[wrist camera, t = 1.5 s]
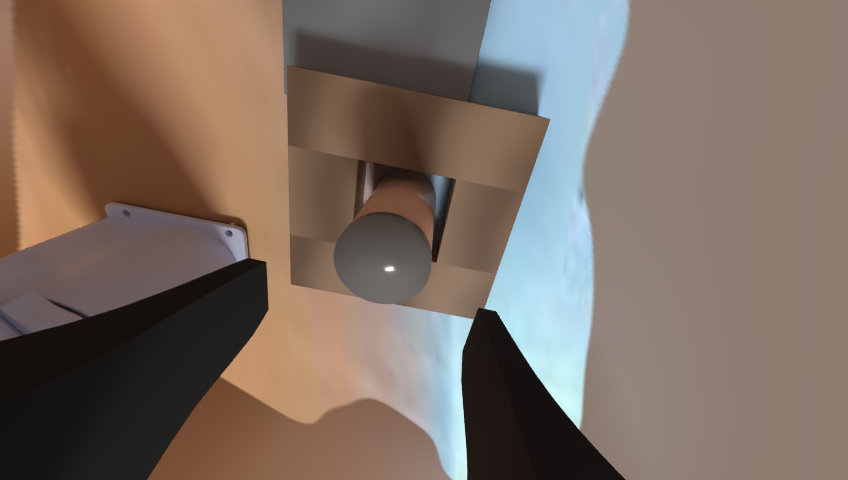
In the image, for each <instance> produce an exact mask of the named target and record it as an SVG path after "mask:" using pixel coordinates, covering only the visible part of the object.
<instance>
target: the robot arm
mask: <svg viewBox="0 0 848 480" xmlns="http://www.w3.org/2000/svg"><path fill="white" fill-rule="evenodd" d="M105 211H106V214H107V218H104V219H102V220H99V221H96V222H94V223H91V224H89V225H86V226H83V227H81V228H78V229H76V230H73V231H70V232H68V233H65V234H62V235H60V236H57V237H55V238H52V239H49V240H47V241H44V242H42V243H39V244H36V245H34V246H31V247H28V248H26V249H23V250H21V251H18V252H15V253H13V254H10V255H8V256H6V257H4V258H1V259H0V480H147V479H148V477H149V475H150V474H151V473H152V471H153V469H154V468H155V466H156V465H157V463H158V462H159V460H160V459H161V457H162V455H163V454H164V452H165V451H166V449H167V448H168V446H169V445H170V443H171V442H172V440H173V439H174V437H175V436H176V434H177V433H178V431H179V430H180V428H181V427H182V425H183V424H184V422H185V421H186V420H187V418H188V417H189V415H190V413H191V412H192V411H193V409H194V408H195V407H196V405H197V404H198V403H199V402H200V400H201V399H202V397H203V396H204V395H205V394H206V393H207V391H208V390H209V389H210V387H211V386H212V385H213V384H214V383H215V382H216V380H217V379H218V378H219V377H220V375H221V374H222V373H223V372H224V370H225V369H226V368H227V367H228V366H229V364H230V363H231V362H232V361H233V359H234V358H235V357H236V356H237V354H238V353H239V352H240V351H241V349H242V348H243V347H244V346H245V344H246V343H247V342H248V341H249V339H250V338H251V337H252V335H253V334H254V332H255V331H256V329H257V328H258V326H259V325H260V323H261V321H262V320H263V318H264V316H265V314H266V313H267V311H268V309H269V308H268V288H267V268H266V262H264V261H260V260H255V259H250V258H249V257H248V246H247V235H246V231H245V230H244V229H243V228H242V227H239V226H235V225H229V224H224V223H219V222H214V221H209V220H204V219H199V218H193V217H188V216H183V215H178V214H173V213H168V212H162V211H157V210H152V209H147V208H142V207H137V206H132V205H126V204H121V203H116V202H111V203H108V204H106V205H105ZM229 230H230V231H231V232H232V234H231V233H230V232H229ZM461 381H462V396H463V410H464V423H465V436H466V449H467V480H625V479H624V478H623V477H622V476H621V475H620V474H619V473H618V472H617V471H616V470H615V469H614V467H613V466H612V465H611V464H610V463H609V462H608V461H607V460H606V459H605V458H604V457H603V456H602V455H601V454H600V453H599V452H598V450H597V449H596V448H595V447H594V446H593V445H592V444H591V443H590V442H589V441H588V440H587V438H586V437H585V436H584V435H583V434H582V433H581V432H580V430H579V429H578V428H577V427H576V426H575V424H574V423H573V422H572V421H571V420H570V418H569V417H568V416H567V415H566V414H565V412H564V411H563V410H562V409H561V408H560V406H559V405H558V404H557V402H556V401H555V400H554V399H553V397H552V396H551V395H550V393H549V392H548V391H547V389H546V388H545V386H544V385H543V384H542V382H541V381H540V380H539V378H538V377H537V375H536V374H535V373H534V371H533V370H532V368H531V367H530V365H529V364H528V362H527V361H526V359H525V358H524V356H523V354H522V353H521V351H520V350H519V348H518V347H517V345H516V343H515V342H514V340H513V338H512V337H511V335H510V334H509V332H508V330H507V329H506V327H505V325H504V324H503V322H502V320H501V319H500V317H499V315H498V314H497V312H496V311H492V310H487V309H482V308H478V310H477V313H476V315H475V318H474V321H473V324H472V326H471V329H470V332H469V335H468V337H467V340H466V343H465V346H464V348H463V354H462V378H461Z"/></svg>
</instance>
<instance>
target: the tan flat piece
mask: <svg viewBox="0 0 848 480" xmlns="http://www.w3.org/2000/svg"><path fill="white" fill-rule="evenodd" d="M287 108H288V159H289V210H290V261H291V284H292V285H297V286H303V287H308V288H313V289H318V290H324V291H329V292H334V293H339V294H345V295H350V296H355V297H359V296H357V295H355V294H354V293H353V292H351V291H350V290H349V289H348V288H347V287H346V286H345V285H344V284H343V283H342V281H341V280H340V278H339V277H338V275H337V272H336V270H335V267H334V261H333V254H334V248H335V245H336V243H337V241H338V239H339V237H340V236H341V235H342V233H343V232H344V230H345V229H346V228H347V226H348V225H349V224H350V223H351V222H352V221H353V220H354V218H355V217H356V216H357V214H358V213H359V211H360V210H361V208H362V205H363V195H364V185H365V174H366V164H367V161H369V162H374V163H379V164H383V165H388V166H393V167H398V168H403V169H408V170H413V171H418V172H423V173H428V174H433V175H438V176H443V177H448V178H453V182H452V186H451V191H450V195H449V199H448V203H447V208H446V212H445V216H444V221H443V225H442V229H441V234H440V238H439V242H438V246H433V245H432V250H431V251H432V263H431V272H430V276H429V279H428V281H427V283H426V285H425V286H424V288H423V289H422V290H421V291H420V292H419V293H418V294H417V295H415V296H414V297H412V298H411V299H408V300H406V301H403V302H400V303H395V304H397V305H402V306H408V307H413V308H418V309H423V310H429V311H434V312H439V313H444V314H450V315H455V316H460V317H465V318H471V319H474V318H475V315H476V313H477V310H478V308H482V309H484V308H485V305H486V302H487V299H488V296H489V293H490V291H491V288H492V285H493V282H494V279H495V276H496V273H497V271H498V268H499V265H500V262H501V259H502V256H503V253H504V251H505V248H506V245H507V242H508V239H509V236H510V233H511V231H512V228H513V225H514V222H515V219H516V216H517V213H518V211H519V208H520V205H521V202H522V199H523V196H524V193H525V191H526V188H527V185H528V182H529V179H530V176H531V173H532V171H533V168H534V165H535V162H536V159H537V156H538V153H539V151H540V148H541V145H542V142H543V139H544V136H545V133H546V131H547V128H548V125H549V122H550V119H547V118H544V117H541V116H537V115H533V114H528V113H523V112H518V111H513V110H508V109H503V108H499V107H494V106H489V105H484V104H479V103H474V102H470V101H464V100H459V99H454V98H449V97H444V96H440V95H435V94H430V93H425V92H420V91H415V90H411V89H406V88H401V87H396V86H391V85H386V84H382V83H377V82H372V81H367V80H362V79H357V78H352V77H348V76H343V75H338V74H333V73H328V72H323V71H319V70H314V69H309V68H304V67H298V66H291V65H287Z"/></svg>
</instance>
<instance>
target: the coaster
mask: <svg viewBox="0 0 848 480" xmlns="http://www.w3.org/2000/svg"><path fill="white" fill-rule="evenodd" d="M282 3H283V46H284V89H285V94H287V65H291V66H298V67H304V68H309V69H314V70H319V71H323V72H328V73H333V74H338V75H343V76H348V77H352V78H357V79H362V80H367V81H372V82H377V83H382V84H386V85H391V86H396V87H401V88H406V89H411V90H415V91H420V92H425V93H430V94H435V95H440V96H444V97H449V98H454V99H459V100H464V101H468V99H469V95H470V91H471V86H472V82H473V78H474V73H475V69H476V64H477V60H478V56H479V51H480V47H481V43H482V38H483V34H484V29H485V25H486V21H487V16H488V12H489V8H490V3H491V0H282Z"/></svg>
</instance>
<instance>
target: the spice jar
mask: <svg viewBox="0 0 848 480" xmlns="http://www.w3.org/2000/svg"><path fill="white" fill-rule="evenodd" d="M435 208H436V198H435V193H434V191H433V189H432V187H431V185H430V184H429V183H428V182H427V181H426V180H425V179H424V178H423V177H421V176H420V175H418V174H416V173H413V172H408V171H399V172H394V173H392V174H389V175H388V176H386V177H385V178H384V179H383V180H382V181H381V182H380V183H379V184H378V186H377V187H376V189H375V190H374V192H373V193H372V194H371V196H370V197H369V199H368V200H367V201H366V203H365V204H364V206H363V207H362V208H361V210H360V211H359V213H358V214H357V216H356V217H355V218H354V220H353V221H352V222H351V223H350V224H349V225H348V226H347V228H346V229H345V230H344V232H343V233H342V235H341V236H340V237H339V239H338V241H337V243H336V245H335V248H334V254H333V261H334V267H335V270H336V272H337V275H338V277H339V278H340V280H341V281H342V283H343V284H344V285H345V286H346V287H347V288H348V289H349V290H350V291H351V292H353V293H354V294H355V295H357V296H359V297H360V298H363V299H365V300H367V301H370V302H374V303H380V304H395V303H400V302H403V301H406V300H408V299H411V298H412V297H414V296H415V295H417V294H418V293H419V292H420V291H421V290H422V289H423V288H424V286H425V285H426V283H427V281H428V279H429V276H430V272H431V263H432V251H431V250H432V240H433V229H434V219H435Z"/></svg>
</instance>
